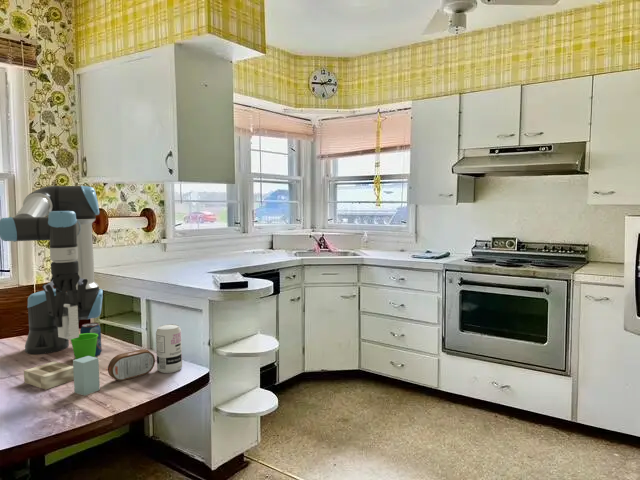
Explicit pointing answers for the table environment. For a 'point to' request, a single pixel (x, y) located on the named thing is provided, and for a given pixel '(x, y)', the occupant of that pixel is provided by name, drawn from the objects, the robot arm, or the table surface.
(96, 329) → the soda can
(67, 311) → the grey rectangular block
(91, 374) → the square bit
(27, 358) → the table surface
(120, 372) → the tin
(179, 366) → the supplement can
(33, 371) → the slotted holder
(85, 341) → the cup
